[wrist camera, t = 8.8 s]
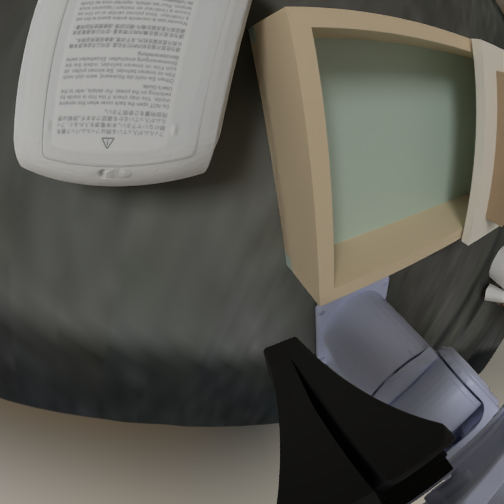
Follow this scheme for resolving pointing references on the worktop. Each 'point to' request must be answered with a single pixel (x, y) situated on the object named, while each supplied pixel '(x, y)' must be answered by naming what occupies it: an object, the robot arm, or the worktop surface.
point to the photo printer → (126, 88)
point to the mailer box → (365, 141)
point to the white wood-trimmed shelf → (499, 302)
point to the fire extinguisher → (496, 278)
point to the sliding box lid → (487, 144)
